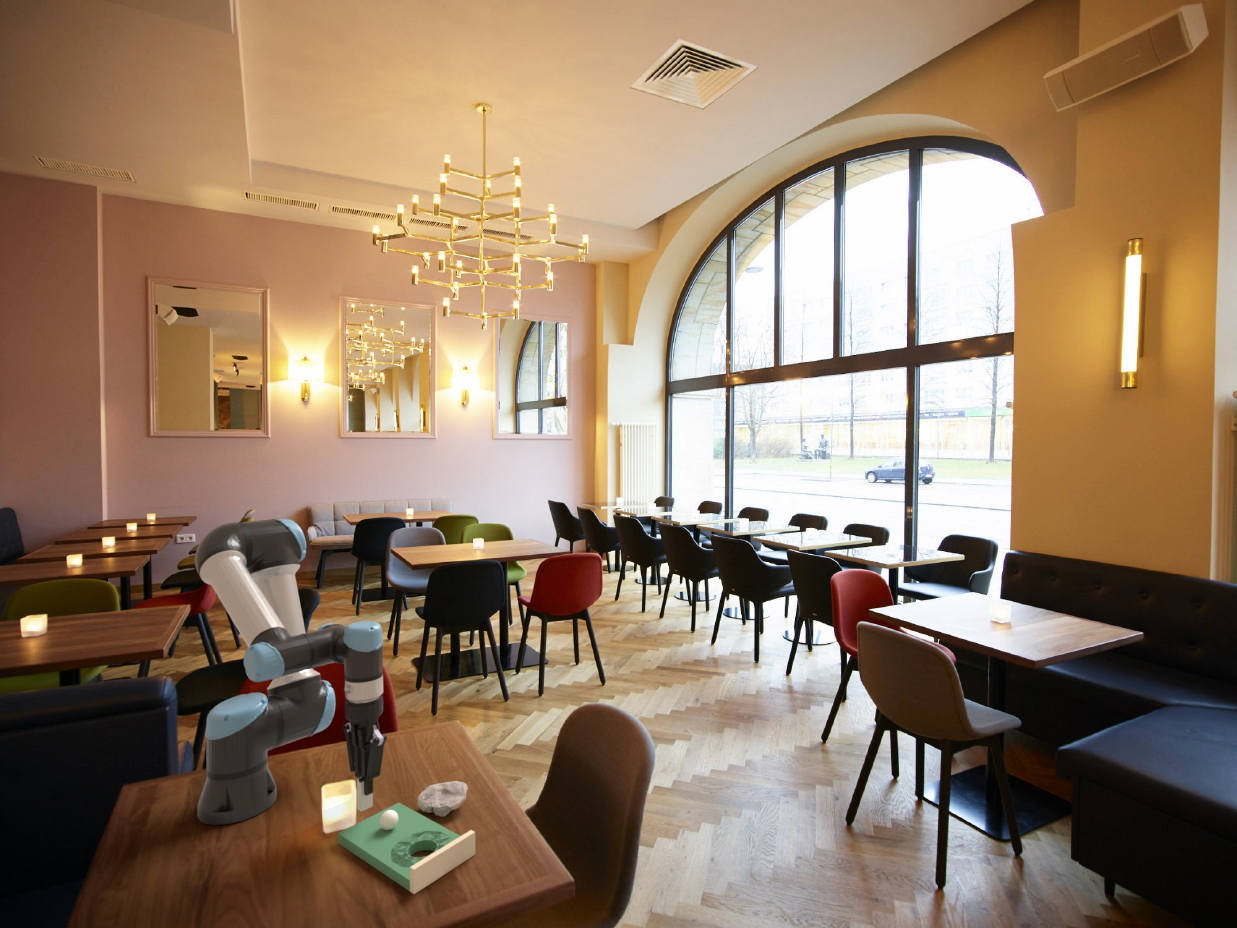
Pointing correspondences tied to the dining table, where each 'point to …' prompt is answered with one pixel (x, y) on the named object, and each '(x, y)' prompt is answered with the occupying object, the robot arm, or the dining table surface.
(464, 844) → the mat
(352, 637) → the robot arm
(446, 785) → the fossil
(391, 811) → the ball
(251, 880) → the dining table surface
